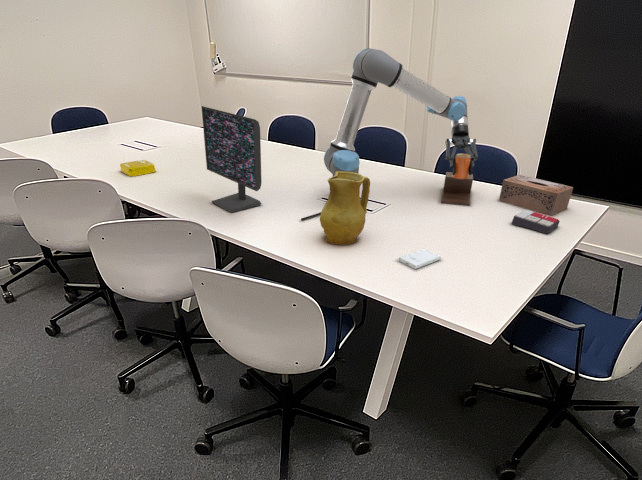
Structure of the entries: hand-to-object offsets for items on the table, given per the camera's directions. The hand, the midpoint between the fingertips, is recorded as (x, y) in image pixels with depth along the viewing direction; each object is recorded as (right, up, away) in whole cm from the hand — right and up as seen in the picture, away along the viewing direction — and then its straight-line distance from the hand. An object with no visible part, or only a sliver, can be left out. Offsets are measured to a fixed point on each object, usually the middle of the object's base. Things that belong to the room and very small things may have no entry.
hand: (462, 173), depth 201 cm
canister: (0, 0, +4) cm, 4 cm away
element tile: (-168, +15, +51) cm, 176 cm away
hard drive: (-30, -43, -44) cm, 69 cm away
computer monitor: (-104, -13, +5) cm, 104 cm away
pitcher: (-55, -34, -28) cm, 70 cm away
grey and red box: (+25, -26, -16) cm, 40 cm away
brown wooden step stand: (+2, -7, +16) cm, 18 cm away
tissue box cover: (+35, -13, +7) cm, 38 cm away
